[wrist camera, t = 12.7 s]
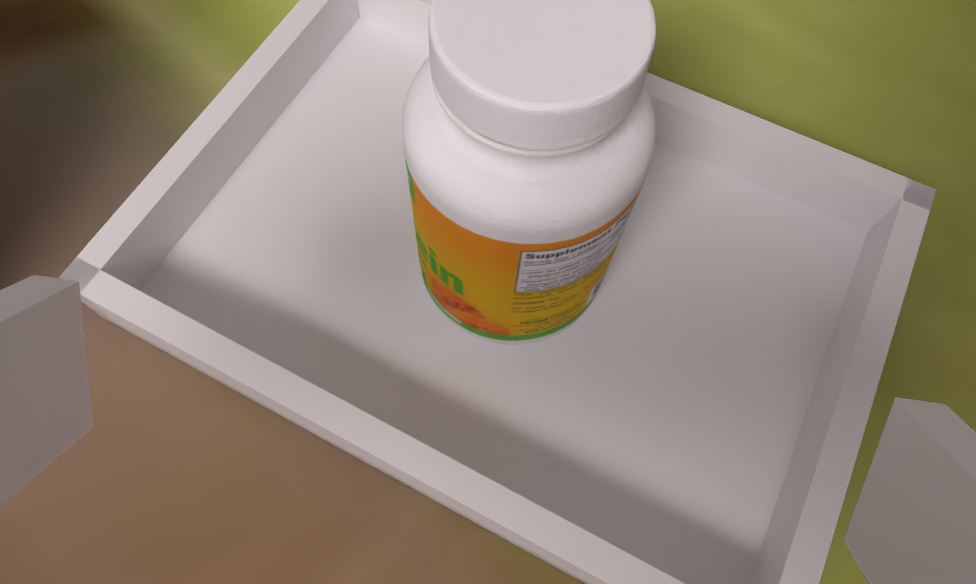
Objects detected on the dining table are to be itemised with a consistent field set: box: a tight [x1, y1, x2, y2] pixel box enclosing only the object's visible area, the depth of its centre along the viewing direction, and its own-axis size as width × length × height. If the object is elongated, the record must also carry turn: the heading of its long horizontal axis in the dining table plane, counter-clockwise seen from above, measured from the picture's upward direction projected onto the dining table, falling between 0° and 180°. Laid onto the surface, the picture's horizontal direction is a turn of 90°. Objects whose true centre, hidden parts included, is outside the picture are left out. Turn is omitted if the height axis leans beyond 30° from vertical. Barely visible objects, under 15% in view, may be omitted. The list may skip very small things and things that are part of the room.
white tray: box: [59, 0, 936, 584], centre depth 20 cm, size 20×14×2 cm
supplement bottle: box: [402, 0, 656, 345], centre depth 16 cm, size 5×5×10 cm
